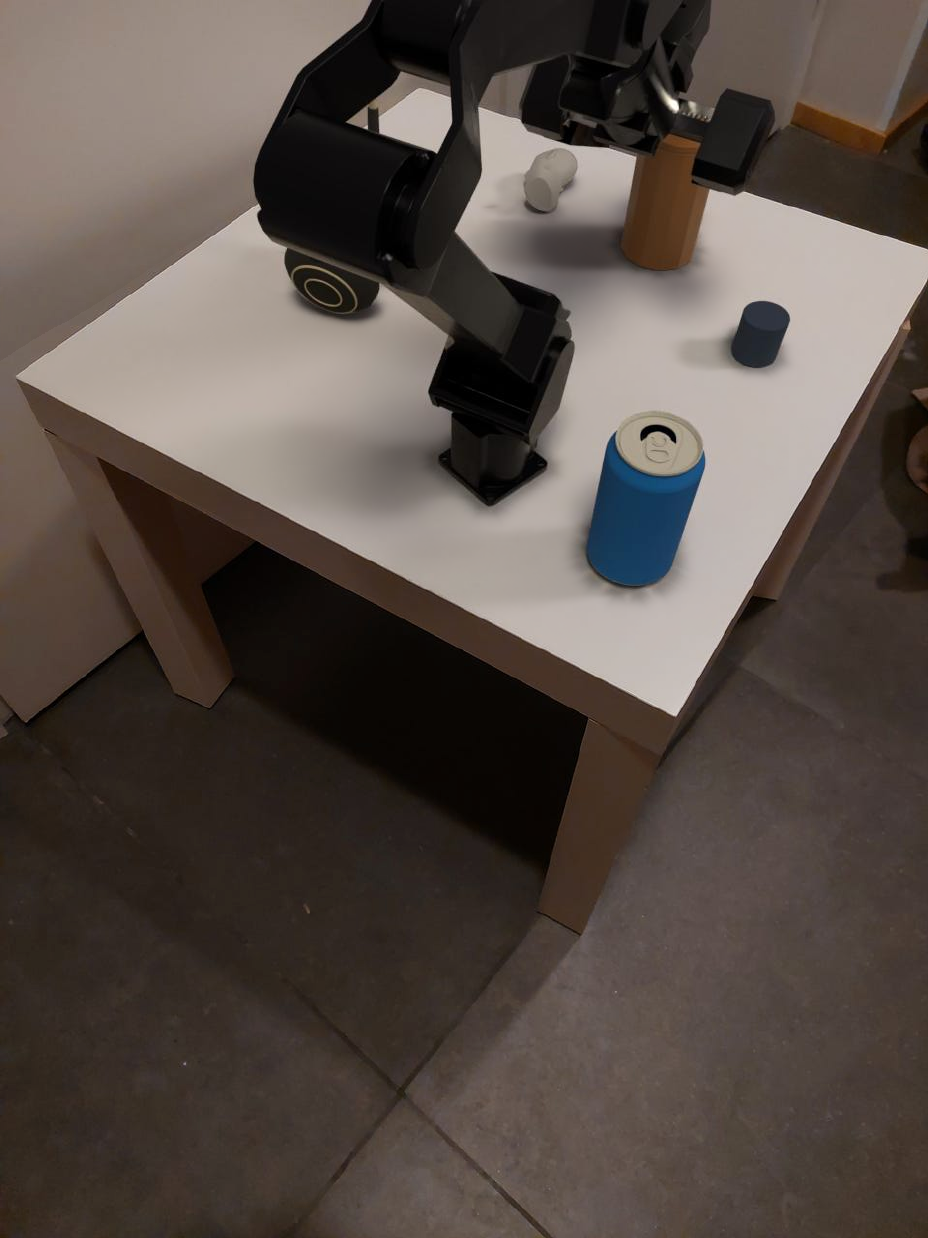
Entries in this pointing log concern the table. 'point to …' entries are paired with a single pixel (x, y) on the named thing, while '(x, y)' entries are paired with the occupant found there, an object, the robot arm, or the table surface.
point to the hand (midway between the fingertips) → (657, 155)
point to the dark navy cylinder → (760, 333)
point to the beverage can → (644, 497)
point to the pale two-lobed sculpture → (549, 177)
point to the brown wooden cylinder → (664, 207)
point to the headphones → (333, 271)
